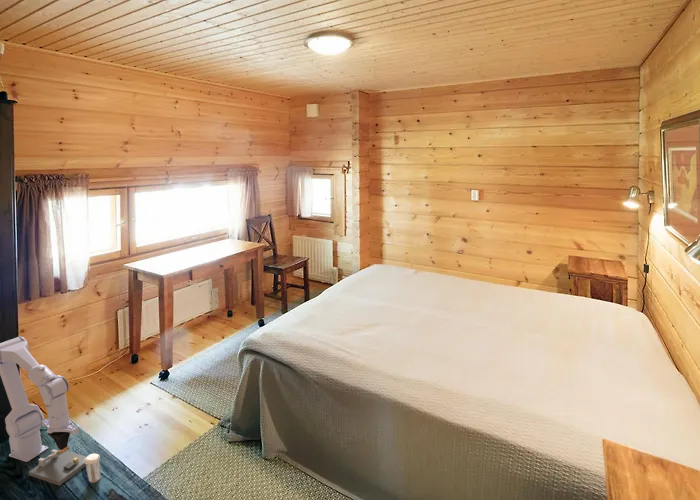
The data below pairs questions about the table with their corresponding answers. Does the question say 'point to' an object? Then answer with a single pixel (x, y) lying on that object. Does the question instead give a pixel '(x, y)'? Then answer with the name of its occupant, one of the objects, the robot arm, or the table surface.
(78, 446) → the table surface
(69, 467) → the base board
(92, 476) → the milkshake
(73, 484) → the table surface
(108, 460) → the table surface
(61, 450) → the latch bar
